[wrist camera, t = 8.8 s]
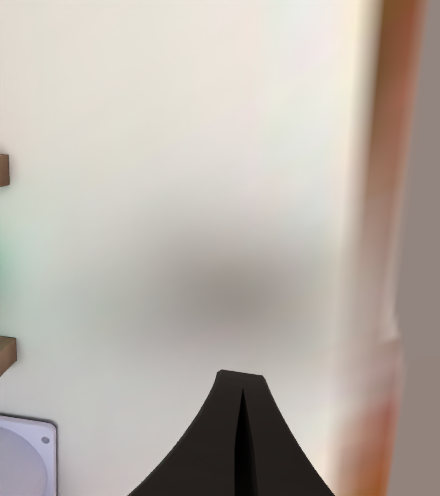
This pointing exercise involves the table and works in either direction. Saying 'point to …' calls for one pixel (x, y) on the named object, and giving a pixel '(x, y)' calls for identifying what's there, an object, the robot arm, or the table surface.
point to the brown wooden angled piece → (3, 348)
